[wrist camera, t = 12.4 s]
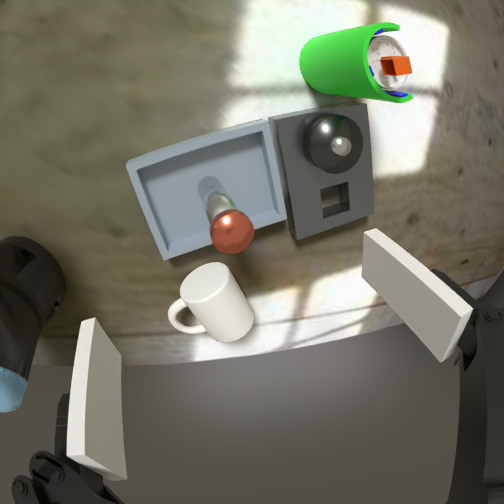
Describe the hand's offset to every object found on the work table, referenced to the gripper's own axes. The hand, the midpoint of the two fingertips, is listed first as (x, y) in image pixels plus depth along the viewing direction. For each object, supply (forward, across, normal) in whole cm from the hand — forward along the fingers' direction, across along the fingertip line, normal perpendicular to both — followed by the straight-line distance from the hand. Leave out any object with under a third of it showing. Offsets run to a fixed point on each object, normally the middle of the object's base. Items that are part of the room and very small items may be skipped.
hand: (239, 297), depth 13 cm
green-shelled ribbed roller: (+28, +22, +9) cm, 37 cm away
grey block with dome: (+28, +19, -6) cm, 35 cm away
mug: (+29, -3, -22) cm, 36 cm away
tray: (+28, +2, -4) cm, 29 cm away
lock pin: (+28, +2, -4) cm, 28 cm away
